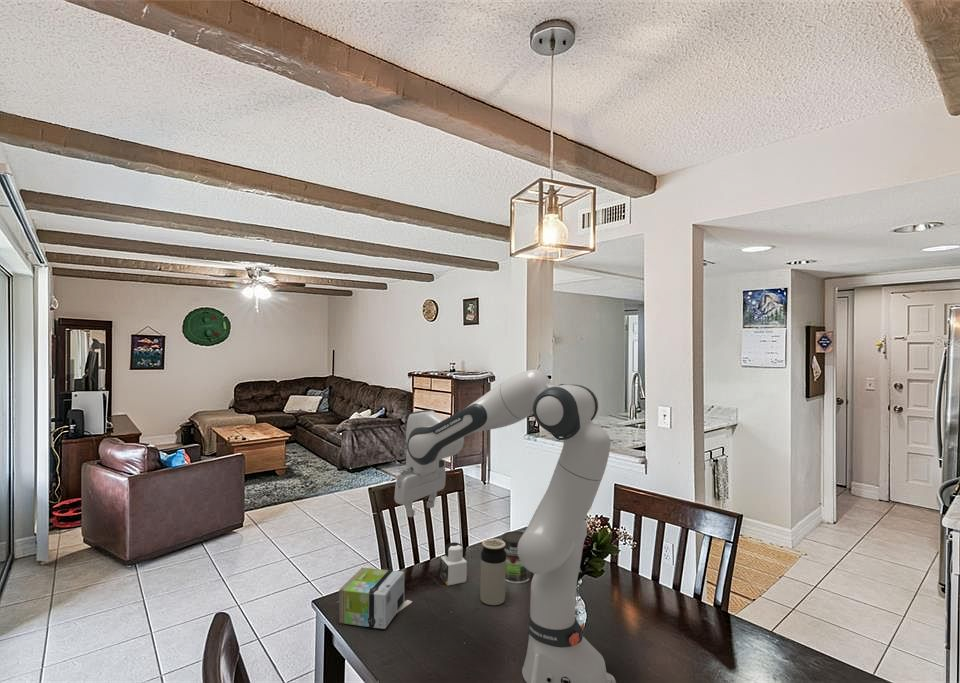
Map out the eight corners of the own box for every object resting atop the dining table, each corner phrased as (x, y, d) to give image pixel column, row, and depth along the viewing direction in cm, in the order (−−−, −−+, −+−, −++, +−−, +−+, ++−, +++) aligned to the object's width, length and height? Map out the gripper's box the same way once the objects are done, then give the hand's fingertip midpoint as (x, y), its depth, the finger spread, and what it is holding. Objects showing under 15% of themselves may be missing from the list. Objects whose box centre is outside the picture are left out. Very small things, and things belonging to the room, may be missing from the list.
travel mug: (501, 608, 150) (502, 549, 150) (476, 603, 153) (477, 545, 153) (507, 596, 158) (509, 540, 158) (484, 591, 160) (485, 536, 160)
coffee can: (527, 586, 165) (528, 544, 165) (497, 581, 168) (498, 540, 168) (532, 572, 174) (533, 533, 175) (505, 568, 178) (505, 529, 178)
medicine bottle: (439, 576, 170) (440, 542, 170) (458, 573, 173) (459, 539, 173) (447, 586, 163) (448, 550, 163) (466, 582, 166) (467, 547, 166)
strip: (412, 602, 152) (412, 601, 152) (374, 628, 138) (374, 627, 138) (407, 600, 153) (407, 599, 153) (369, 626, 139) (369, 625, 139)
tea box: (385, 593, 137) (337, 589, 140) (386, 630, 137) (338, 625, 140) (404, 570, 152) (360, 566, 155) (405, 602, 151) (361, 598, 154)
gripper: (406, 473, 134) (406, 524, 133) (449, 459, 151) (449, 504, 151) (389, 470, 137) (388, 520, 137) (432, 457, 155) (432, 501, 154)
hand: (420, 511), depth 144 cm, fingers open, 8 cm apart
